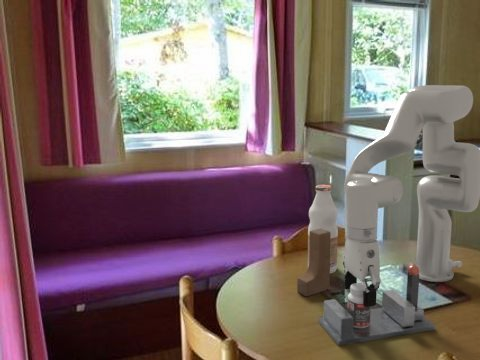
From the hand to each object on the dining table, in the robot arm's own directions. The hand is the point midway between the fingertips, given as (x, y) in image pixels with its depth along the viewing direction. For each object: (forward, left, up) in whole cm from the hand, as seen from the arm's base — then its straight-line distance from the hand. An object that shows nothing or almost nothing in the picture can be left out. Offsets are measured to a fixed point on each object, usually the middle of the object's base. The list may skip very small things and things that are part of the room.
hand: (359, 296), depth 121 cm
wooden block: (+2, -23, -9) cm, 25 cm away
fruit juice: (-7, -37, -9) cm, 39 cm away
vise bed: (-5, 0, -8) cm, 10 cm away
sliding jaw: (-13, 0, -7) cm, 14 cm away
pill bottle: (0, 0, -7) cm, 7 cm away
